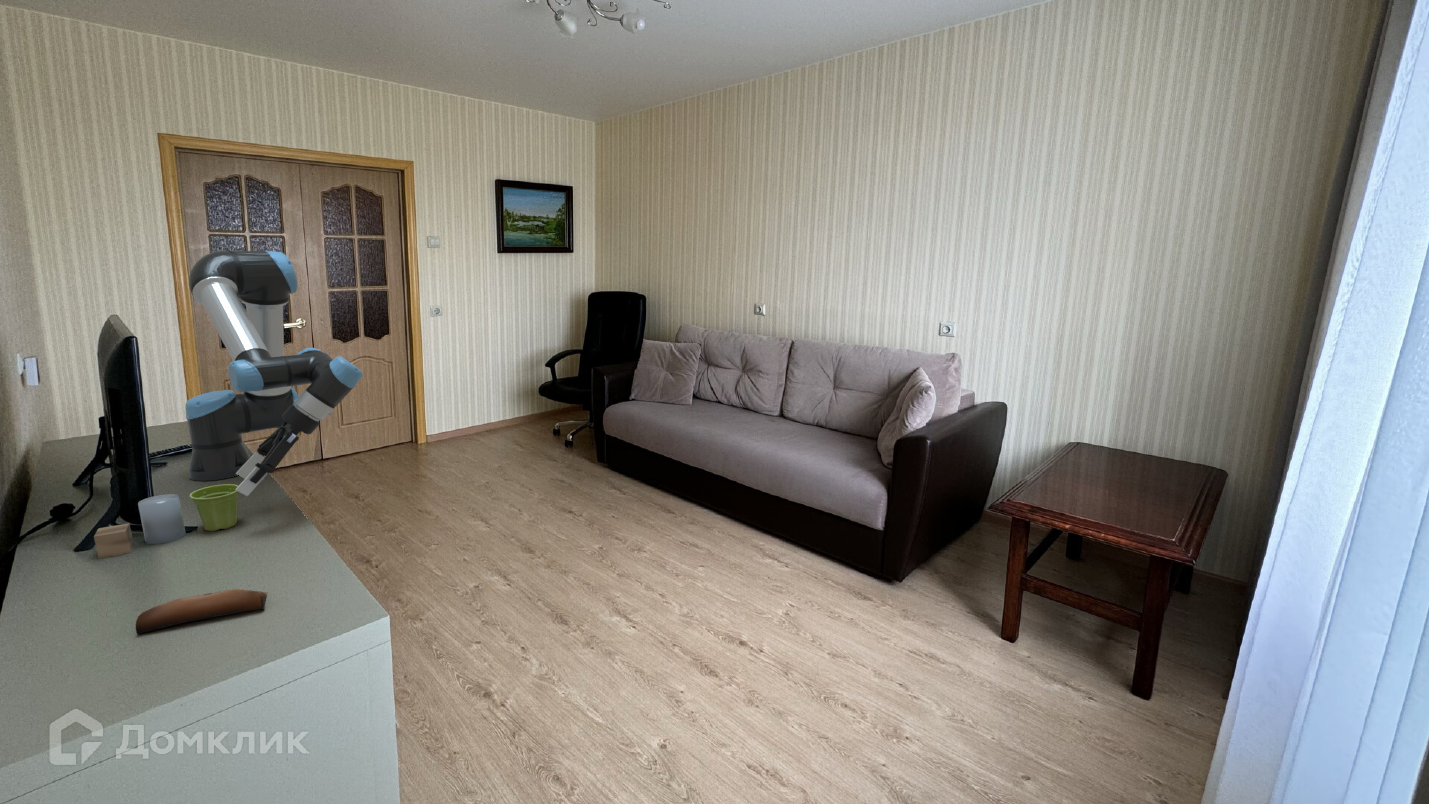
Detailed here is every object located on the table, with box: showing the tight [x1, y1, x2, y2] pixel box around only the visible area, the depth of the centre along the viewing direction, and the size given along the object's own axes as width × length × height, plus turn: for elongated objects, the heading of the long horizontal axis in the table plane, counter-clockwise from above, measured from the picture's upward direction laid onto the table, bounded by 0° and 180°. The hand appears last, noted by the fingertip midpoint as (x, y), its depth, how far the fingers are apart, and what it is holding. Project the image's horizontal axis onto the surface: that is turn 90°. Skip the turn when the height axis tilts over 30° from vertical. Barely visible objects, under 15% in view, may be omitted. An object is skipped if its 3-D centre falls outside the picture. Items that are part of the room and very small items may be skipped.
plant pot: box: [189, 483, 239, 532], centre depth 153 cm, size 9×9×9 cm
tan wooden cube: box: [93, 523, 134, 559], centre depth 140 cm, size 5×5×5 cm
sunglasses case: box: [135, 588, 268, 635], centre depth 117 cm, size 18×7×7 cm
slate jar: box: [137, 493, 187, 545], centre depth 147 cm, size 7×7×9 cm
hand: (241, 484), depth 154 cm, fingers open, 13 cm apart
